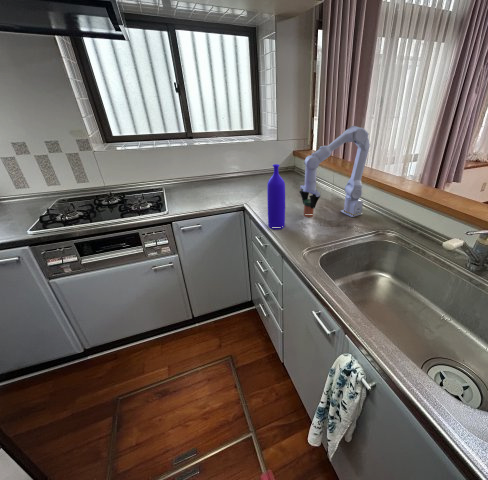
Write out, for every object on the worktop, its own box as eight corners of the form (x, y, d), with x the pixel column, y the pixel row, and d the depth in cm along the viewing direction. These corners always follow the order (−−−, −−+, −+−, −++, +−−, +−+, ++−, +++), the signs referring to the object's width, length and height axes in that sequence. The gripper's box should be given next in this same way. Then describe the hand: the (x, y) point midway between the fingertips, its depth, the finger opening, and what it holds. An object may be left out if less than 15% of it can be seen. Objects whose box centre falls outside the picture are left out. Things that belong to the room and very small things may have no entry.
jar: (315, 215, 143) (316, 202, 140) (308, 217, 140) (308, 204, 137) (308, 212, 147) (309, 199, 143) (301, 214, 144) (302, 201, 140)
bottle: (275, 221, 136) (275, 161, 122) (288, 226, 132) (289, 164, 117) (264, 226, 131) (262, 165, 116) (277, 231, 126) (276, 168, 111)
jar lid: (310, 201, 144) (310, 198, 143) (316, 204, 140) (317, 201, 139) (301, 203, 141) (301, 200, 140) (307, 207, 137) (308, 203, 136)
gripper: (295, 178, 138) (295, 202, 144) (312, 185, 127) (311, 211, 134) (306, 176, 141) (305, 200, 148) (324, 183, 131) (322, 209, 137)
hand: (309, 205), depth 141 cm, fingers open, 6 cm apart
